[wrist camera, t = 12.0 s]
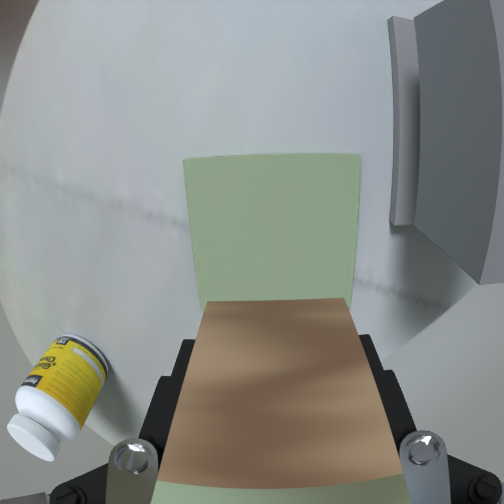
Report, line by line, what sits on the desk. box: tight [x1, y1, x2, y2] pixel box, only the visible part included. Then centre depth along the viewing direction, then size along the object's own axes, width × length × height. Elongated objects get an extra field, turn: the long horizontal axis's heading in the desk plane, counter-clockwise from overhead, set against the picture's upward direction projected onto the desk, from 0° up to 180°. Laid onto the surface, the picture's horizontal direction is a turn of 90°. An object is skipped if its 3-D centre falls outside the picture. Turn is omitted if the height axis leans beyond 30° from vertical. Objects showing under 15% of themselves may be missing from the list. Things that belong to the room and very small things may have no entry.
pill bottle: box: [7, 335, 108, 461], centre depth 22 cm, size 6×6×12 cm
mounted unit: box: [388, 0, 504, 285], centre depth 13 cm, size 6×14×11 cm, turn 3°
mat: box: [183, 153, 360, 311], centre depth 21 cm, size 11×11×1 cm
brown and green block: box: [151, 297, 411, 504], centre depth 8 cm, size 4×4×8 cm
